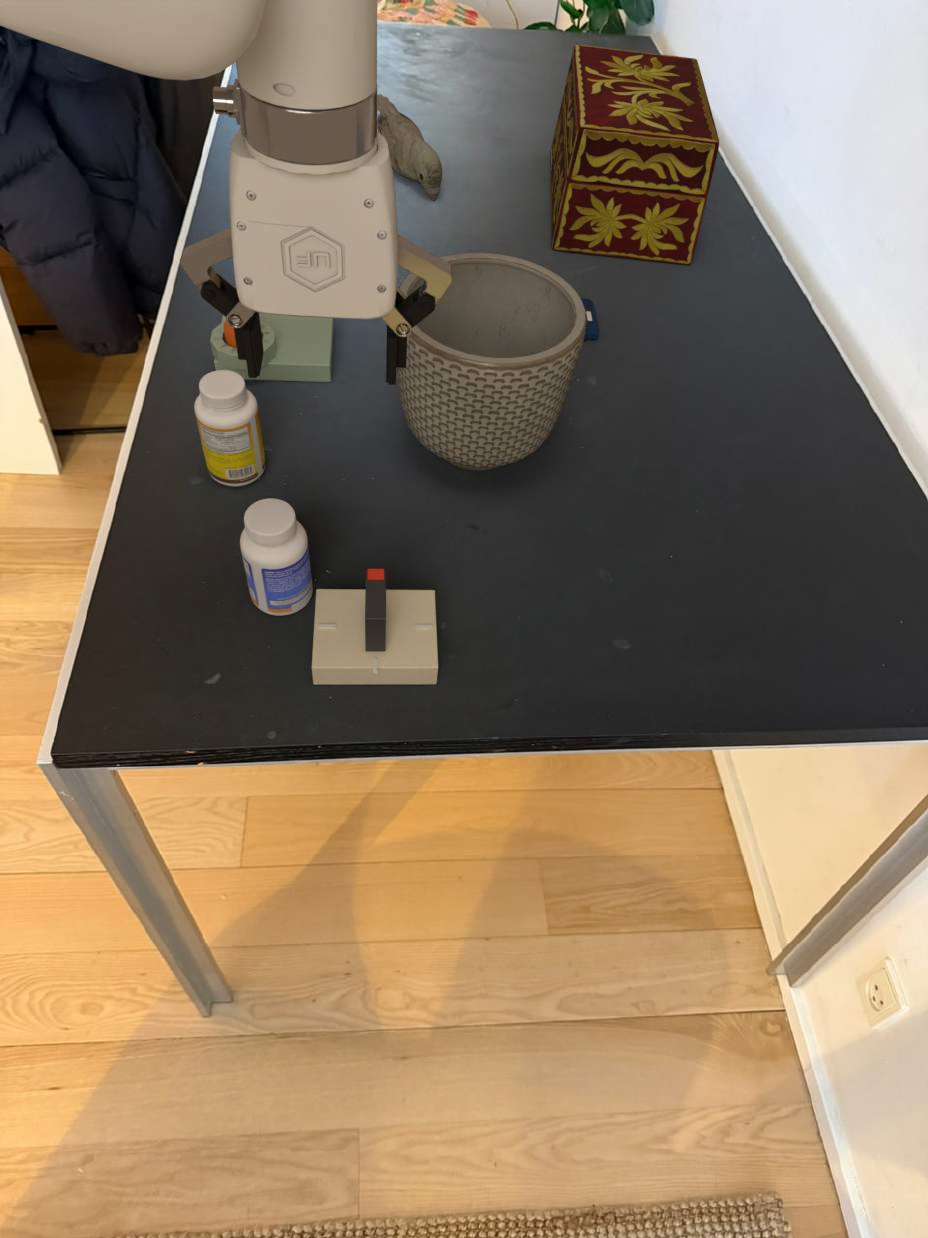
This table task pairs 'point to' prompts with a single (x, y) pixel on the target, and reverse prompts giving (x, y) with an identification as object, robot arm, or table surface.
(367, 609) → the program dial
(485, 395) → the planter
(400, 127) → the decorative bird
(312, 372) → the block
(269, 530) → the pill bottle
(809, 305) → the table surface
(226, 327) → the button
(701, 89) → the decorative box
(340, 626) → the dial panel
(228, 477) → the supplement bottle
